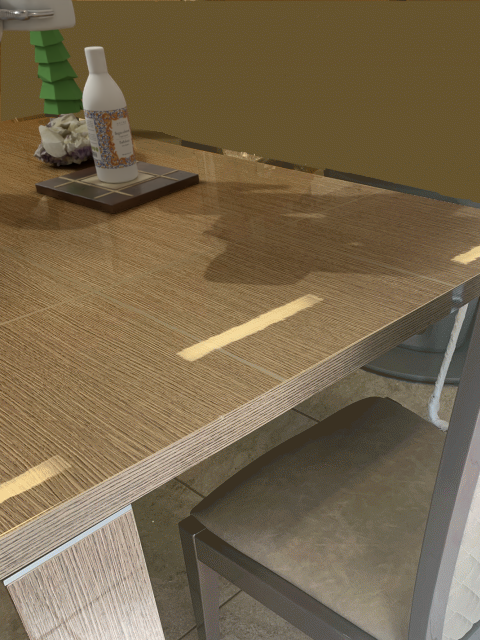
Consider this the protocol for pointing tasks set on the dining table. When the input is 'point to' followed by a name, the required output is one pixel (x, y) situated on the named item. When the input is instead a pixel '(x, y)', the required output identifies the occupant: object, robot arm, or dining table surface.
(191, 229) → the dining table surface
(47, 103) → the decorative tree
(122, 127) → the bath foam
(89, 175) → the game board
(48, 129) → the geode
